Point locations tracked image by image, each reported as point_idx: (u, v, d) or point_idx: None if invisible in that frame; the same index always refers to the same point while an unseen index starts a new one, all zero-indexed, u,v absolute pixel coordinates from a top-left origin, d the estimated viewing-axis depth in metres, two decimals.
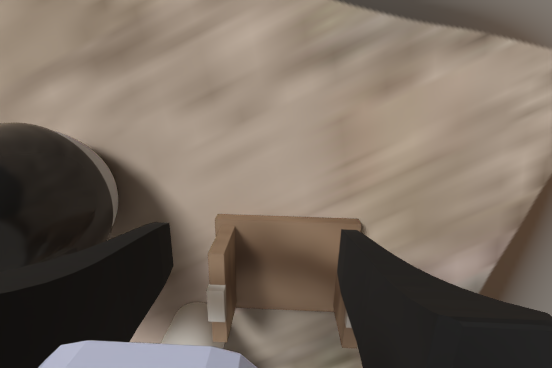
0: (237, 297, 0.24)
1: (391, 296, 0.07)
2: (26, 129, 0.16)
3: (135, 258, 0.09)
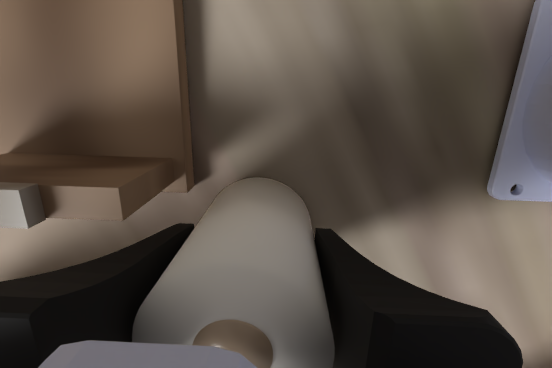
0: (160, 155, 0.12)
1: (346, 293, 0.07)
2: None
3: (166, 259, 0.09)
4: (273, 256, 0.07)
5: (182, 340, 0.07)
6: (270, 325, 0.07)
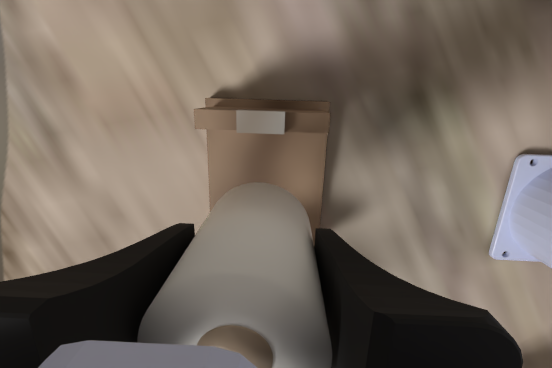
0: None
1: (346, 293, 0.07)
2: None
3: (166, 259, 0.09)
4: (266, 262, 0.07)
5: None
6: (267, 328, 0.07)
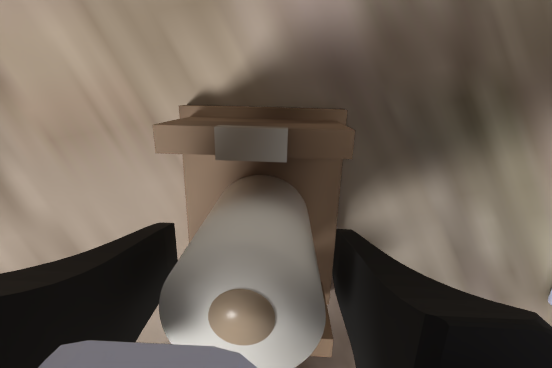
0: None
1: (382, 295, 0.07)
2: None
3: (141, 258, 0.09)
4: (269, 235, 0.08)
5: (200, 309, 0.08)
6: (270, 291, 0.08)
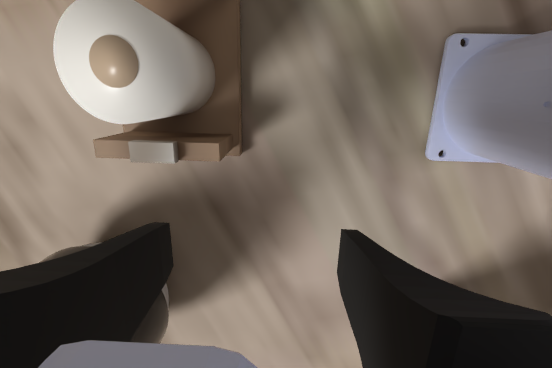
0: (224, 132, 0.19)
1: (391, 296, 0.07)
2: None
3: (135, 258, 0.09)
4: None
5: (84, 56, 0.12)
6: (131, 37, 0.11)
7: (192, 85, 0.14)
